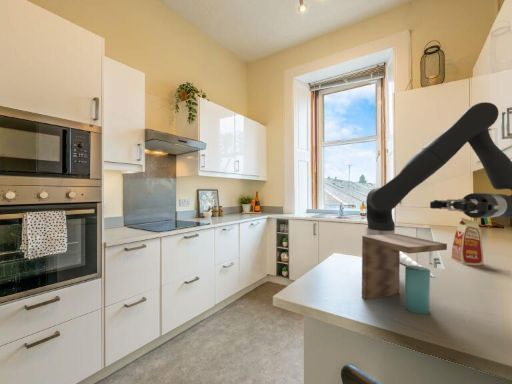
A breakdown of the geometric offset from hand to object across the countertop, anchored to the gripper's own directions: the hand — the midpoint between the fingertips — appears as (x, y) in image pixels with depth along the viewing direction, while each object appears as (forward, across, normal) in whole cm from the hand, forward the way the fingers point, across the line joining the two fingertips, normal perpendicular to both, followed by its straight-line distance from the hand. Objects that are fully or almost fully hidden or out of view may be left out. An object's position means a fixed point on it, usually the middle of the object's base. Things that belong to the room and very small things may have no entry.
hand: (446, 205), depth 71 cm
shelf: (+13, -3, +28) cm, 31 cm away
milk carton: (-53, -26, +28) cm, 65 cm away
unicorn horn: (-22, -28, +28) cm, 45 cm away
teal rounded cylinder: (+11, 0, +28) cm, 30 cm away
